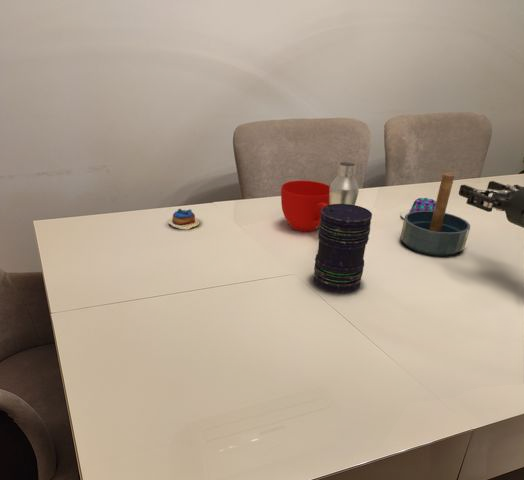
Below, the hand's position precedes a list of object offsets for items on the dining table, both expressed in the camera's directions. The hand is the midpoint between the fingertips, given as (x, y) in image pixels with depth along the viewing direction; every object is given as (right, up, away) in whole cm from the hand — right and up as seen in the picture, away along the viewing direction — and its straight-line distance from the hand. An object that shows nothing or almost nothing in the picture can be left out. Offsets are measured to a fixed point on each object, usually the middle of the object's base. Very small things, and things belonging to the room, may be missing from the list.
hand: (474, 187), depth 108 cm
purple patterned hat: (-2, +1, +30) cm, 30 cm away
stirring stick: (-4, -9, +14) cm, 17 cm away
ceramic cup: (-35, -4, +20) cm, 40 cm away
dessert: (-66, -3, +19) cm, 69 cm away
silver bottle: (-29, -13, +8) cm, 33 cm away
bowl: (-4, -9, +15) cm, 18 cm away
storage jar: (-31, -21, -4) cm, 38 cm away
